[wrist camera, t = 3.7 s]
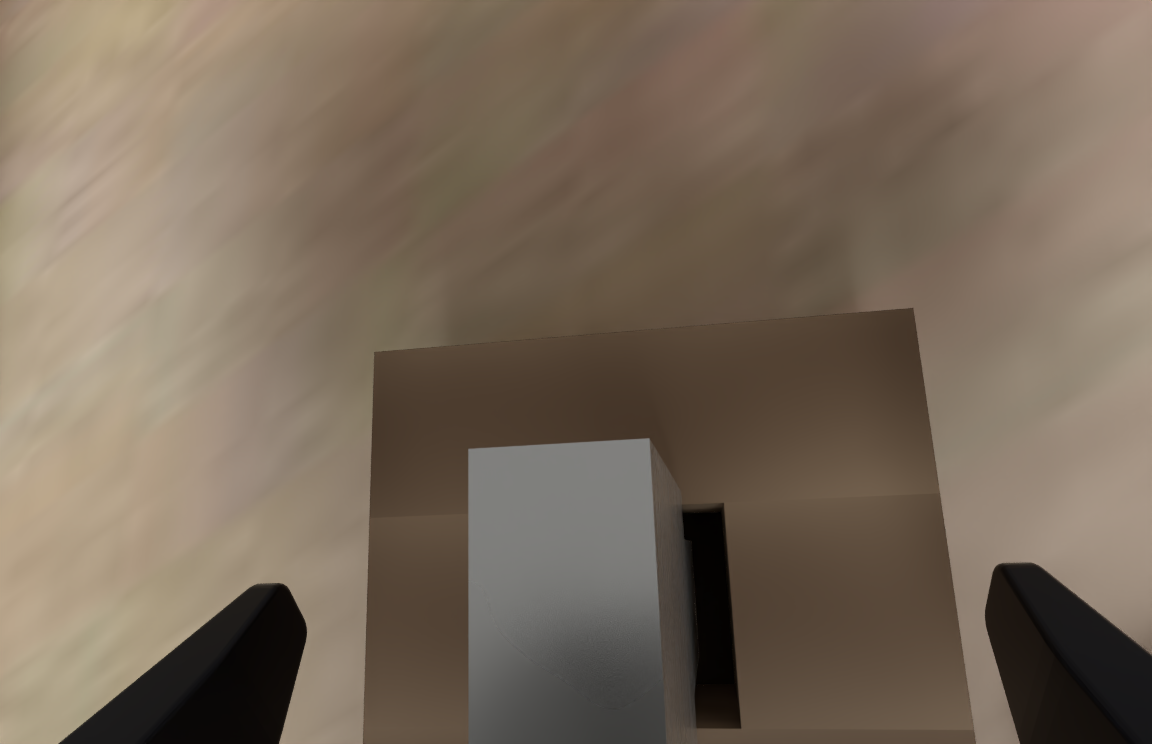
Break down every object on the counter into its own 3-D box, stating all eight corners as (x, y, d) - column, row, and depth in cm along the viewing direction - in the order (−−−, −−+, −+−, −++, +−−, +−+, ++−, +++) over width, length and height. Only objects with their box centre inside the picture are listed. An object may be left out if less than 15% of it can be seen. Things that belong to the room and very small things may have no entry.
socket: (931, 858, 15) (1008, 970, 11) (441, 843, 16) (357, 936, 12) (867, 361, 17) (913, 307, 13) (444, 392, 19) (374, 352, 15)
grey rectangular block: (701, 694, 16) (679, 986, 5) (627, 694, 16) (468, 973, 6) (689, 504, 17) (648, 439, 6) (618, 507, 17) (468, 449, 7)
